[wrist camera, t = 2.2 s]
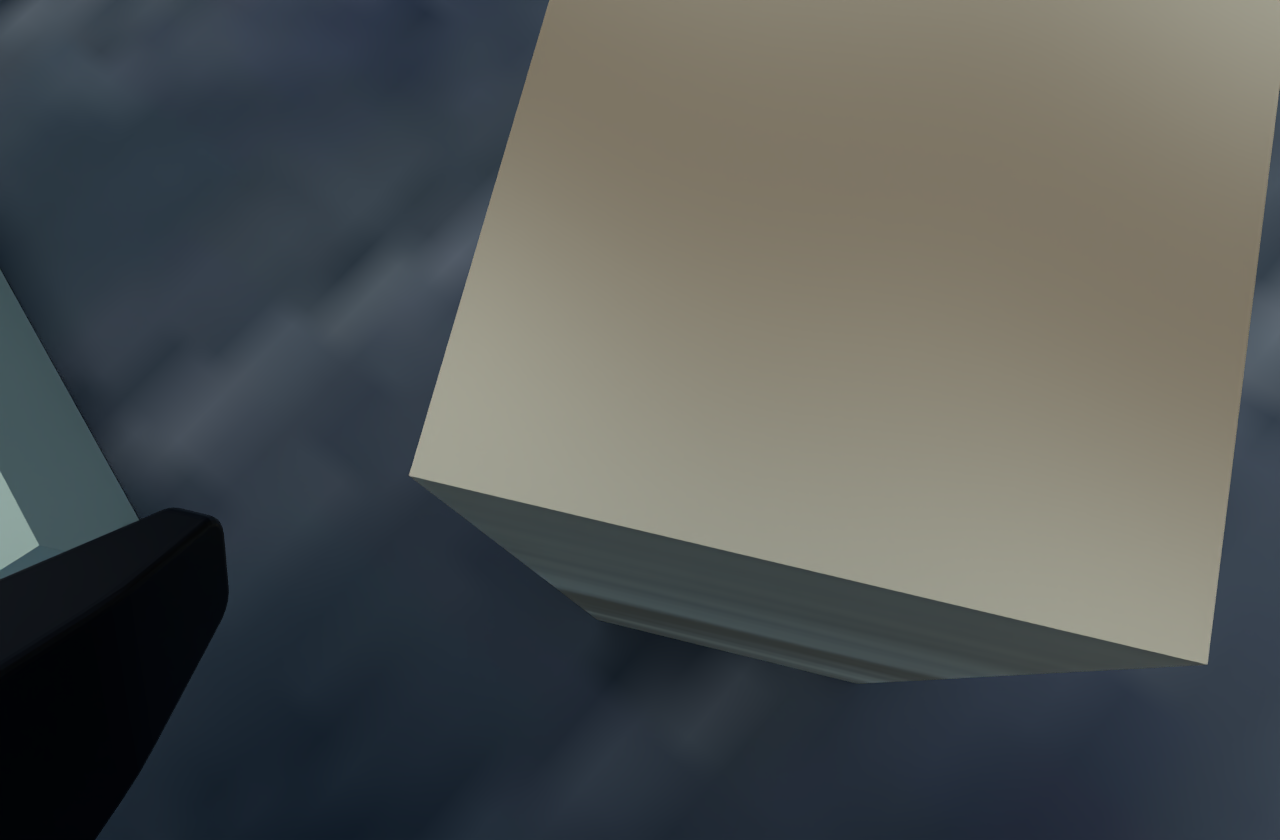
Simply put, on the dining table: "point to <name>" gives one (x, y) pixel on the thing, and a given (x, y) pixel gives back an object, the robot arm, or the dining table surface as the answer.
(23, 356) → the box
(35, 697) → the robot arm
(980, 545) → the birch post
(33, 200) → the dining table surface
